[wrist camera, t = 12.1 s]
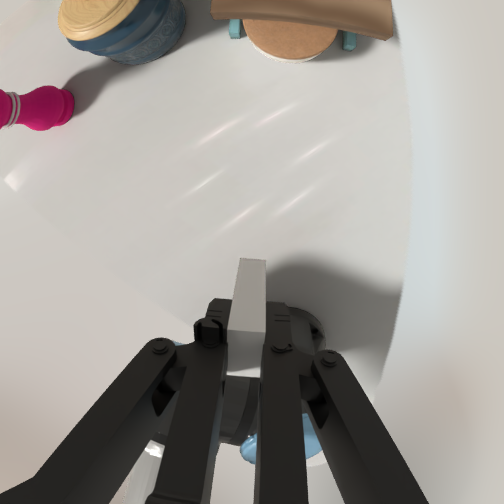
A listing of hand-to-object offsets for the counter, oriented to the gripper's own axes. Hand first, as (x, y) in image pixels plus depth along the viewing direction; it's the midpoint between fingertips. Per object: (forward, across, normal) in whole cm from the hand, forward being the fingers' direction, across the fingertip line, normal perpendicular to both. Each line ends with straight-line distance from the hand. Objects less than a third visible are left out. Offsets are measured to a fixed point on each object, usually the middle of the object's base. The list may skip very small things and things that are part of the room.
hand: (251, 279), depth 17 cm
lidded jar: (+25, -2, -23) cm, 34 cm away
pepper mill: (+25, +33, -14) cm, 43 cm away
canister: (+25, +18, -25) cm, 39 cm away
